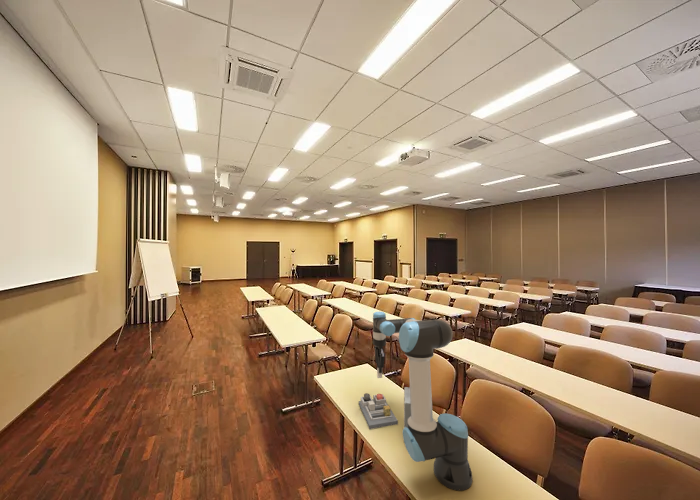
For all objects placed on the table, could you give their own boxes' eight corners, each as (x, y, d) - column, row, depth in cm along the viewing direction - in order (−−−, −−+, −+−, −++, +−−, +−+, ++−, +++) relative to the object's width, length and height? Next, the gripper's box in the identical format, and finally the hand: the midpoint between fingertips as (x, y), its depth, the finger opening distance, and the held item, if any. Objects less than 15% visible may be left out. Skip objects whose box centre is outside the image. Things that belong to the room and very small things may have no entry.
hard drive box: (420, 446, 126) (420, 405, 126) (403, 443, 128) (403, 403, 127) (418, 424, 142) (418, 387, 141) (403, 422, 143) (403, 386, 143)
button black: (370, 401, 155) (370, 396, 155) (364, 402, 154) (364, 397, 154) (368, 398, 159) (368, 392, 158) (363, 398, 158) (363, 393, 158)
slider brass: (390, 415, 145) (390, 408, 145) (385, 416, 145) (385, 409, 145) (388, 412, 148) (388, 405, 148) (383, 413, 148) (383, 406, 148)
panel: (397, 424, 142) (397, 415, 142) (369, 429, 138) (369, 419, 138) (383, 400, 163) (383, 392, 163) (358, 404, 160) (358, 396, 159)
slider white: (374, 410, 150) (374, 403, 150) (369, 411, 149) (369, 404, 149) (373, 407, 153) (373, 400, 153) (368, 408, 152) (368, 401, 152)
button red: (383, 401, 157) (383, 396, 157) (377, 402, 156) (377, 397, 156) (381, 398, 160) (381, 393, 160) (375, 399, 160) (375, 394, 160)
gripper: (389, 341, 152) (389, 382, 152) (381, 334, 165) (381, 371, 165) (377, 342, 150) (377, 383, 151) (370, 335, 163) (370, 373, 163)
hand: (379, 377), depth 158 cm, fingers closed
